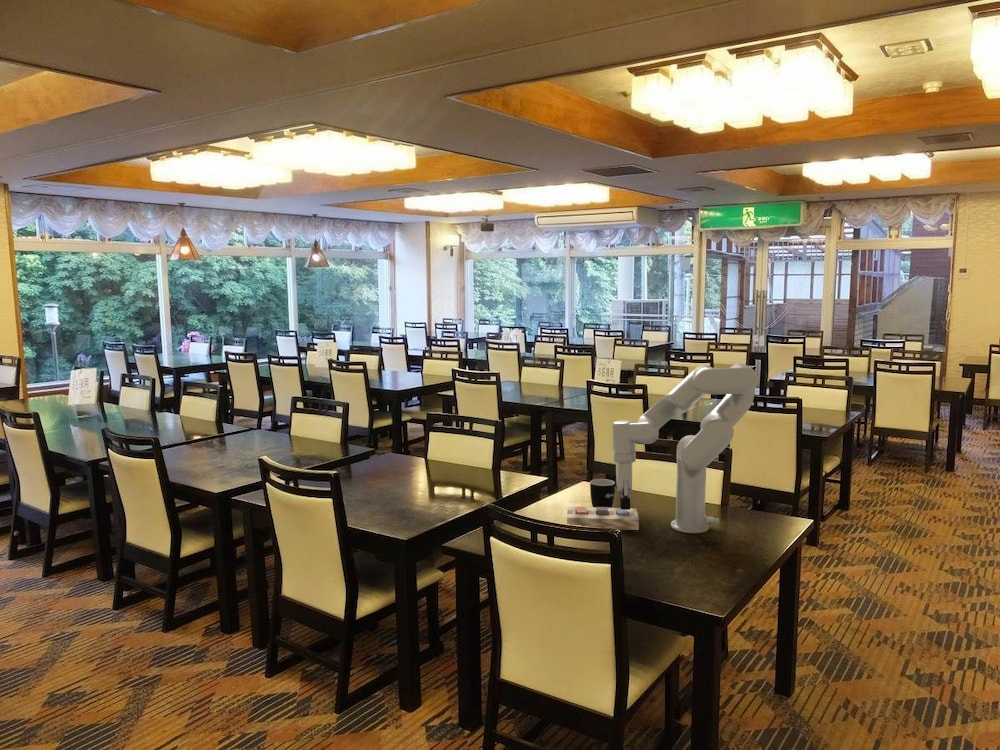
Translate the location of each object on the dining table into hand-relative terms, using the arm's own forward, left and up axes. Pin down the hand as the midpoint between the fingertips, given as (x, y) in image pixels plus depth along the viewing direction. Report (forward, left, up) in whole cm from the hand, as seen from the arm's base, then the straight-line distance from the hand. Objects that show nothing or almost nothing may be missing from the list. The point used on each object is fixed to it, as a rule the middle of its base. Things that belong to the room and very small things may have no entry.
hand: (625, 508), depth 248 cm
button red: (+15, 0, -4) cm, 15 cm away
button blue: (+1, 0, -4) cm, 4 cm away
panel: (+8, 0, -6) cm, 10 cm away
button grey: (+8, 0, -3) cm, 8 cm away
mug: (+6, -18, -6) cm, 20 cm away
